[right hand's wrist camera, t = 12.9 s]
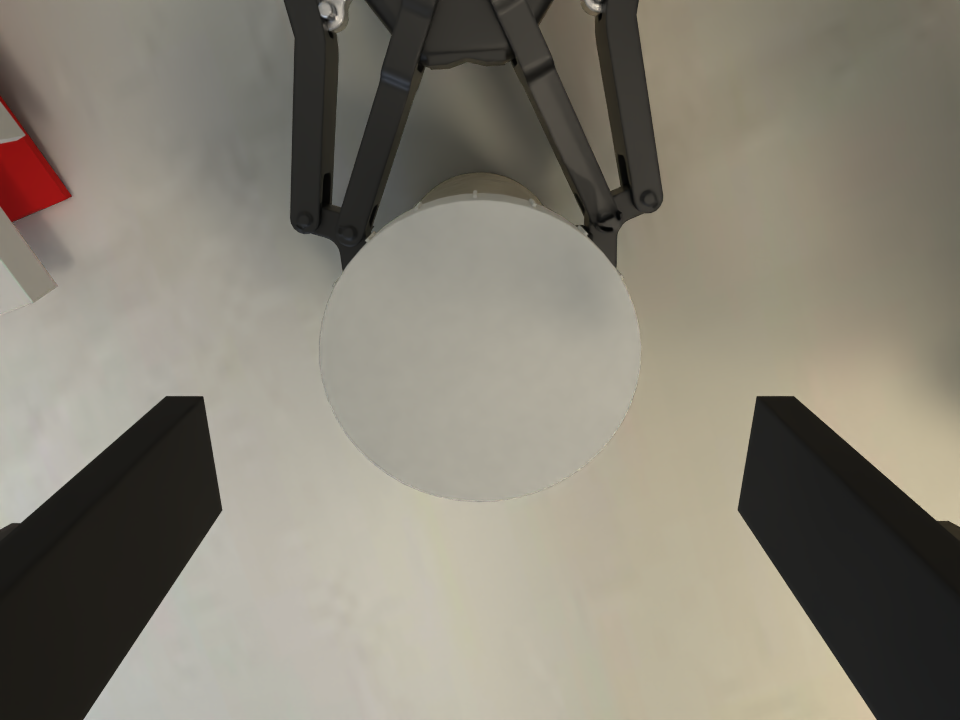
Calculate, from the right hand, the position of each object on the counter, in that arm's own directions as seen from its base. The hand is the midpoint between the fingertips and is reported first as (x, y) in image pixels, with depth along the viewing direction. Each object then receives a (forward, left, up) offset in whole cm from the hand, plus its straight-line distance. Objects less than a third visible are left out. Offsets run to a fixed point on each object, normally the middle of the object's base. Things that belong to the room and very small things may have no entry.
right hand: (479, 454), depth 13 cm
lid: (0, 0, -6) cm, 6 cm away
